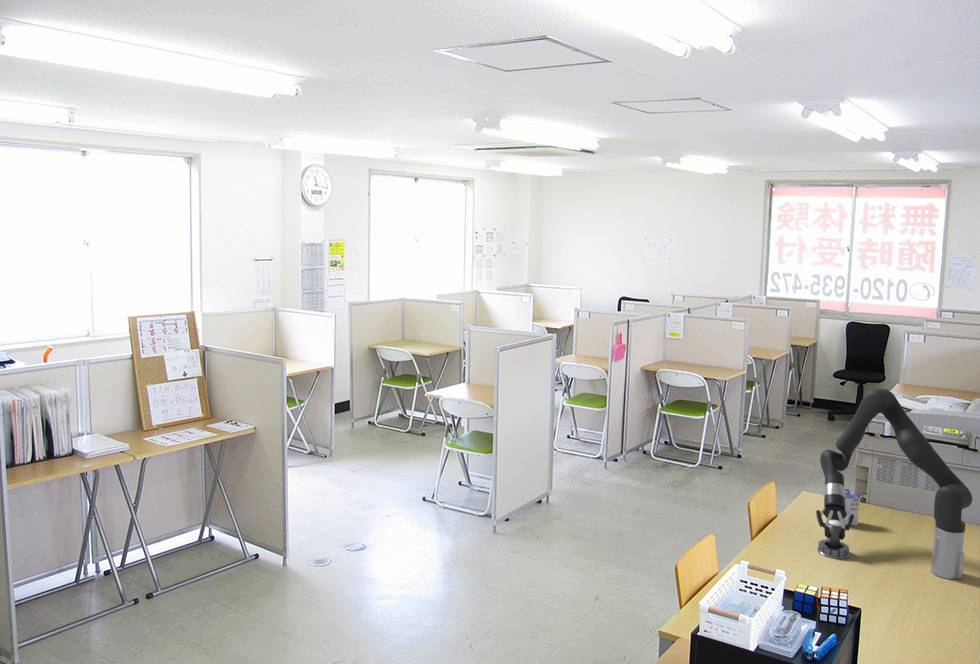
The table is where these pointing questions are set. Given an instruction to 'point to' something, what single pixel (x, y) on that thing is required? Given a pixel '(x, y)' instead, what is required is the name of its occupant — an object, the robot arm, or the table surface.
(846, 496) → the ink cartridge box
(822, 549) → the dark grey ridged ring
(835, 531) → the tube
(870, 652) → the table surface
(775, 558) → the table surface
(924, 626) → the table surface
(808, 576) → the table surface
